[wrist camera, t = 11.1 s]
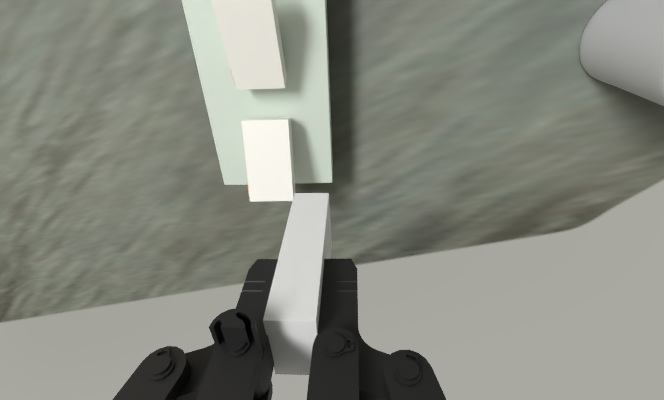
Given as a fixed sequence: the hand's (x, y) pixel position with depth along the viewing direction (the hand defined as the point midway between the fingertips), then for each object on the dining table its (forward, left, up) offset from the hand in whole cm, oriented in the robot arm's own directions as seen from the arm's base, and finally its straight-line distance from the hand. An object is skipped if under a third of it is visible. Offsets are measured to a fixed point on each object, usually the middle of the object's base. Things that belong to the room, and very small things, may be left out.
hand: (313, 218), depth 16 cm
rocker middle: (-5, -6, -19) cm, 20 cm away
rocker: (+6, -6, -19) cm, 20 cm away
